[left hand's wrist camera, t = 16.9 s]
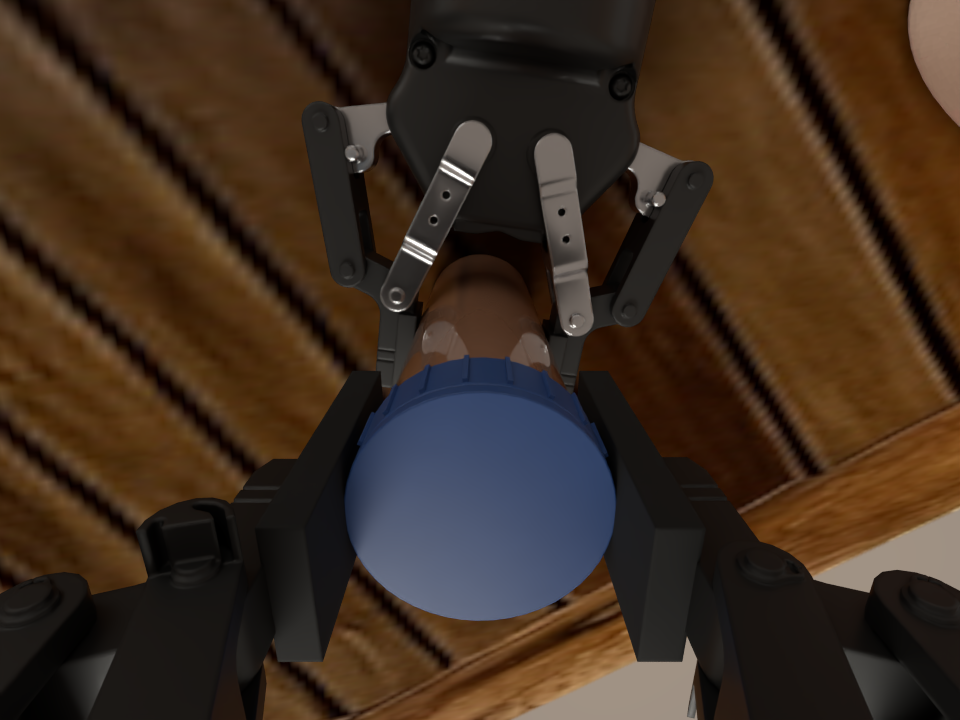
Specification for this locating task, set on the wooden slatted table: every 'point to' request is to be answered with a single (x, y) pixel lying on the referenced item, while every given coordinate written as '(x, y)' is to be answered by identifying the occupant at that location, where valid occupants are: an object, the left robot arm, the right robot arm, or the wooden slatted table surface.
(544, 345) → the brown tall cylinder
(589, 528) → the lid
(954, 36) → the anatomical model
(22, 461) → the wooden slatted table surface
